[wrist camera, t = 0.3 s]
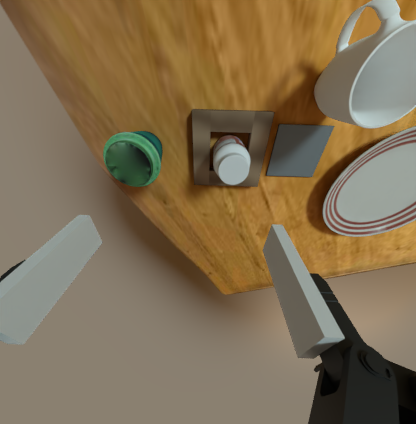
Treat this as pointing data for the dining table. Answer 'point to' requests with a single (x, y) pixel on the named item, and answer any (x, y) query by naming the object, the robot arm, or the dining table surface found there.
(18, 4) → the dining table surface
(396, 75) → the mug
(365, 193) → the dinner plate
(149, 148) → the cup
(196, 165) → the collar
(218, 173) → the pill bottle
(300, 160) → the coaster
